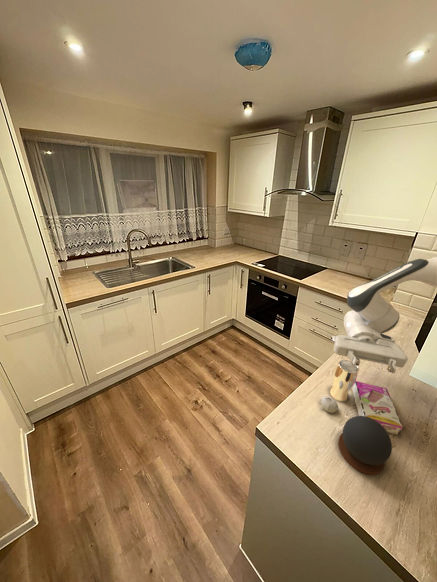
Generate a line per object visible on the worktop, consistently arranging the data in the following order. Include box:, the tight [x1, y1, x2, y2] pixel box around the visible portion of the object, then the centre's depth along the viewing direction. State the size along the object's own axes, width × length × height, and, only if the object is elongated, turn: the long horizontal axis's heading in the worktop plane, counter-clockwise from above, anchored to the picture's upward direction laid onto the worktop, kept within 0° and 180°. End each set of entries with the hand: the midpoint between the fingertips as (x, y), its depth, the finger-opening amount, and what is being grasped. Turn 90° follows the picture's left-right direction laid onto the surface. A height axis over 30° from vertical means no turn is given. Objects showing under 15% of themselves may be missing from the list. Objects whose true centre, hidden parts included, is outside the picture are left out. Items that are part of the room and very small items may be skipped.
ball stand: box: [337, 415, 393, 476], centre depth 68 cm, size 12×12×13 cm
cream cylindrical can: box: [329, 359, 360, 402], centre depth 86 cm, size 7×7×15 cm
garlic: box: [320, 395, 339, 414], centre depth 83 cm, size 6×5×5 cm
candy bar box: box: [351, 380, 403, 436], centre depth 83 cm, size 11×5×16 cm
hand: (374, 367), depth 70 cm, fingers open, 8 cm apart
